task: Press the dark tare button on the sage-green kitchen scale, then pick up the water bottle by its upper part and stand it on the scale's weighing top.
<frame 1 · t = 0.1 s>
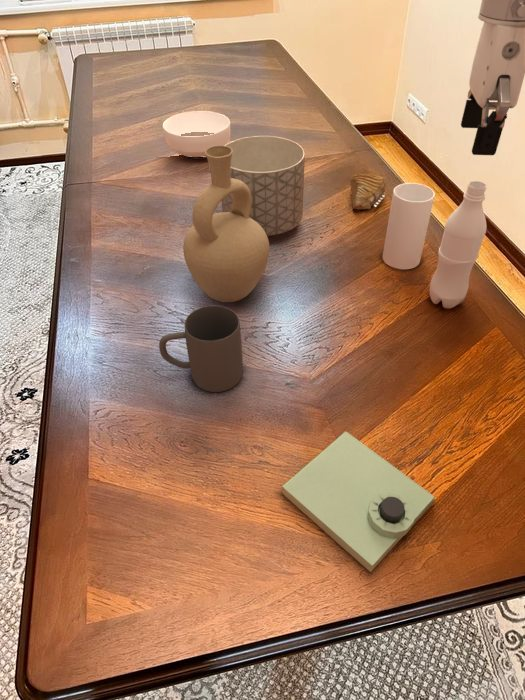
hand: (476, 140, 80), 35 cm above the table, tool pointing down, fingers open, 9 cm apart
vase: (229, 292, 112), on the table
water bottle: (444, 301, 109), on the table
mug: (204, 376, 95), on the table
fossil: (368, 203, 138), on the table
planter: (262, 226, 131), on the table
cup: (401, 259, 120), on the table
bowl: (199, 152, 162), on the table
tare button: (392, 509, 71), point 4 cm above the table, slide at 0.1 cm
scale: (356, 498, 76), on the table
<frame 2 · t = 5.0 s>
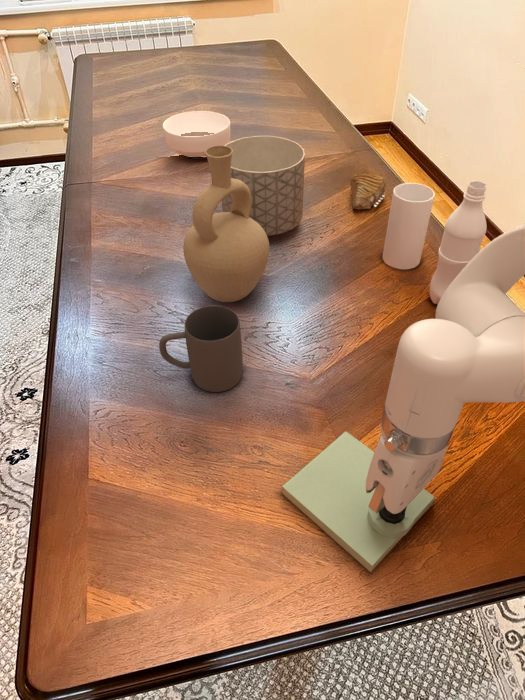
hand: (391, 509, 71), 4 cm above the table, tool pointing down, fingers closed
tare button: (391, 512, 71), point 3 cm above the table, slide at -0.5 cm, touching gripper
everything else where it was.
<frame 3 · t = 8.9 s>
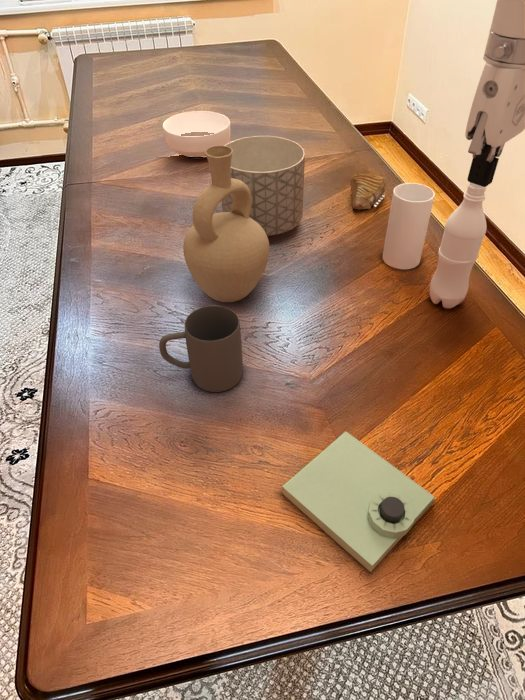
hand: (479, 182, 81), 30 cm above the table, tool pointing down, fingers closed
tare button: (392, 509, 71), point 4 cm above the table, slide at 0.1 cm
everything else where it was.
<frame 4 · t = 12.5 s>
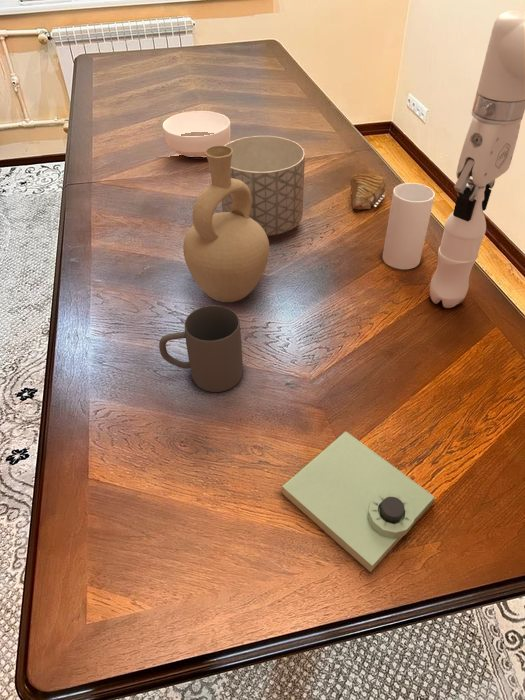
hand: (469, 212, 95), 20 cm above the table, tool pointing down, fingers closed on water bottle, 4 cm apart
water bottle: (444, 300, 109), on the table, touching gripper
everything else where it was.
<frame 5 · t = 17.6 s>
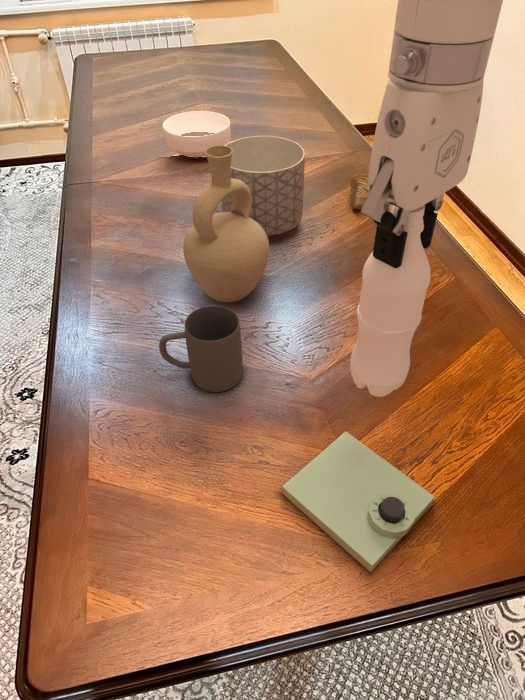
hand: (401, 250, 55), 37 cm above the table, tool pointing down, fingers closed on water bottle, 4 cm apart
water bottle: (376, 382, 69), point 17 cm above the table, touching gripper
everything else where it was.
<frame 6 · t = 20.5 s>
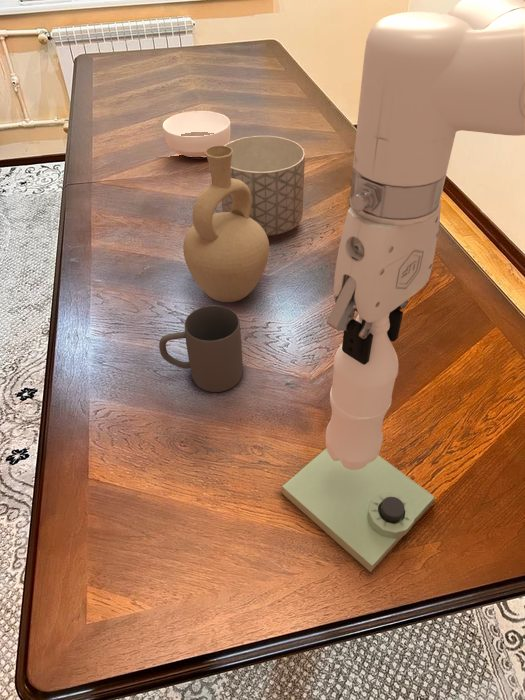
hand: (369, 344, 58), 29 cm above the table, tool pointing down, fingers closed on water bottle, 4 cm apart
water bottle: (351, 453, 71), point 9 cm above the table, touching gripper
everything else where it was.
when the fingers open (22 cm above the table, at t = 22.9 s): water bottle stays where it is, resting on scale.
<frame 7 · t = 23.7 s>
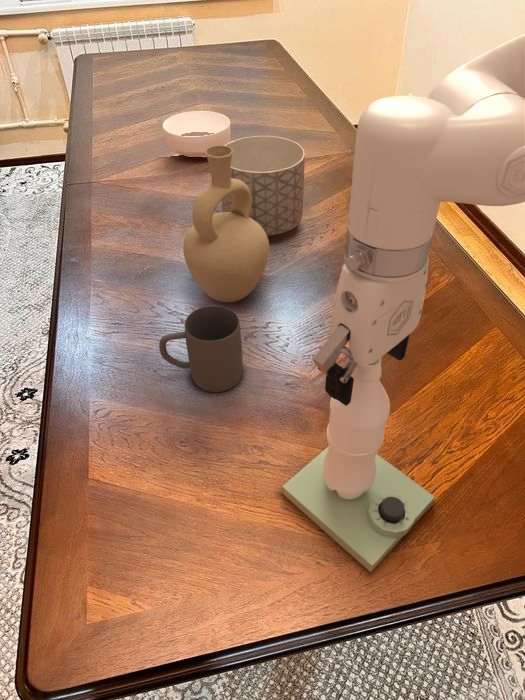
hand: (365, 374, 61), 24 cm above the table, tool pointing down, fingers open, 9 cm apart
water bottle: (346, 483, 76), point 2 cm above the table, touching scale
everything else where it was.
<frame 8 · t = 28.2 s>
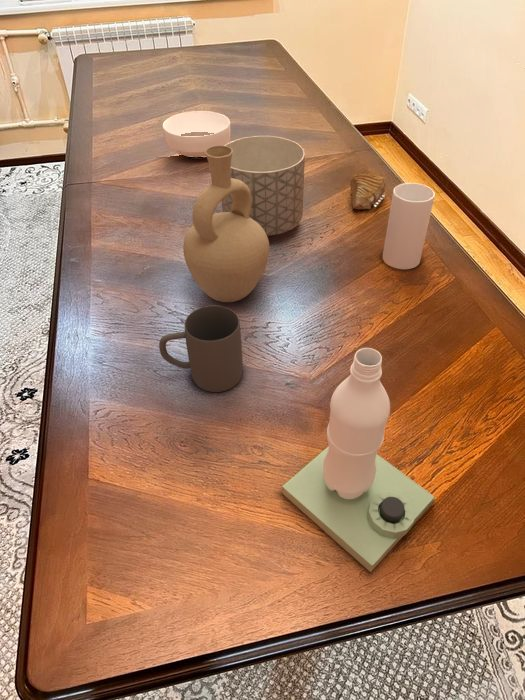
nothing on the table moved.
at the end: tare button pushed in 0.9 cm at the most during the clip, back to where it started at the end; water bottle inside the target area on the scale (0.1 cm from its centre), point 1.7 cm above the scale's base; water bottle touching scale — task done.
